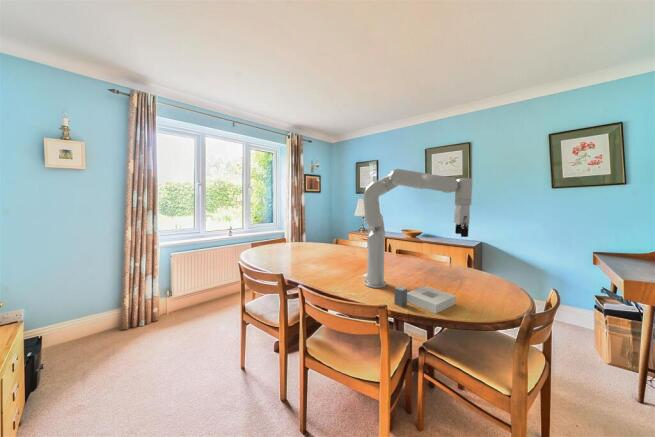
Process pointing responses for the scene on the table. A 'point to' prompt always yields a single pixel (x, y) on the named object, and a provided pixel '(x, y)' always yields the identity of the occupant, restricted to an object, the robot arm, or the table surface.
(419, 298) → the socket housing
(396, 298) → the plug
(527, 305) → the table surface
